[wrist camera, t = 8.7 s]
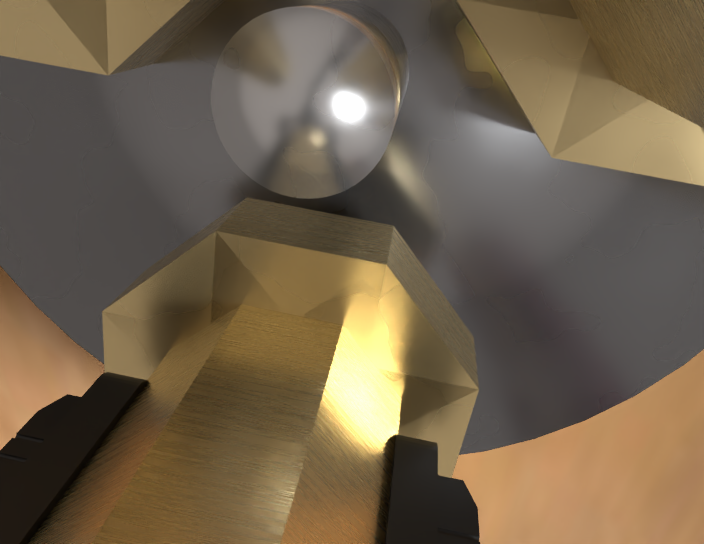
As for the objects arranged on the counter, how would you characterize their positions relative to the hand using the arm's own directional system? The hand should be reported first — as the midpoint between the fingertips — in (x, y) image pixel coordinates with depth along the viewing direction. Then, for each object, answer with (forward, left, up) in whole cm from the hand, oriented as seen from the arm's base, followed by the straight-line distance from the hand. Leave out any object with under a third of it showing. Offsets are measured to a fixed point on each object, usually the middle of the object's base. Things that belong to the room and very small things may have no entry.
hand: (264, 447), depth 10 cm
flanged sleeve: (0, 0, -3) cm, 3 cm away
